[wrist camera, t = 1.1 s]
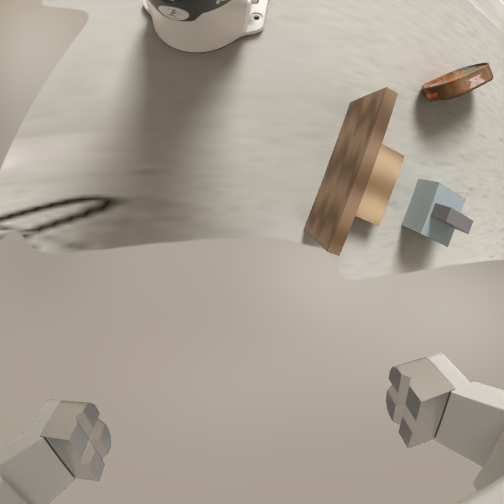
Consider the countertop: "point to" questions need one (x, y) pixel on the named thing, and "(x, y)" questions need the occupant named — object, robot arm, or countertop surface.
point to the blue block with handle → (436, 212)
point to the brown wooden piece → (356, 173)
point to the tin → (458, 82)
